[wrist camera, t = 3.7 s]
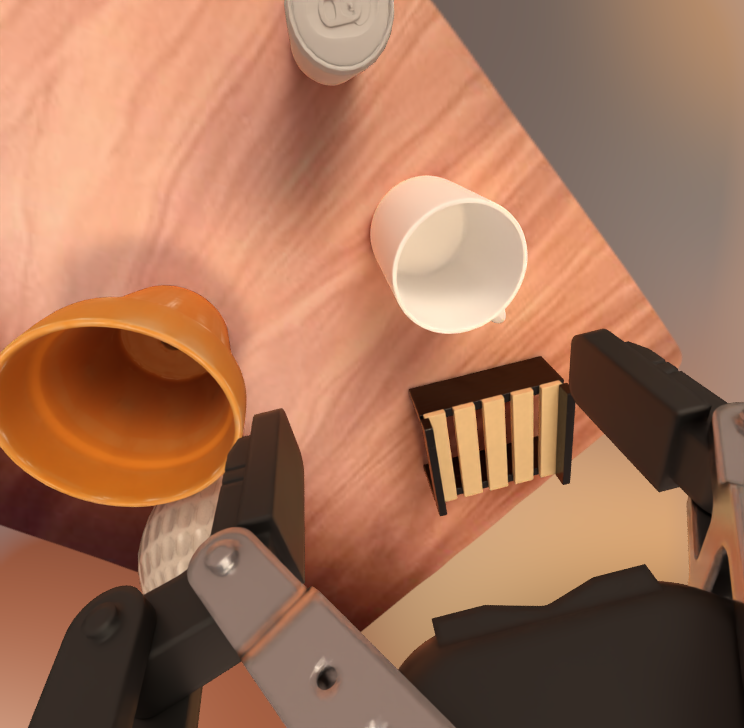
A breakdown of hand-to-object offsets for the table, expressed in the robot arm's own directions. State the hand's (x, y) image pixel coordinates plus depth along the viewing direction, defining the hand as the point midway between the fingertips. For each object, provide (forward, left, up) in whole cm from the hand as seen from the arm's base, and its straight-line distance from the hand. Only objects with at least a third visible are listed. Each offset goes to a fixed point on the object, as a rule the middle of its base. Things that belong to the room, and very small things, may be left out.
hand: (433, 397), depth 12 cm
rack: (-9, +25, -26) cm, 37 cm away
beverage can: (-1, -10, -26) cm, 28 cm away
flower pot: (+17, +7, -26) cm, 32 cm away
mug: (-6, +4, -26) cm, 27 cm away
